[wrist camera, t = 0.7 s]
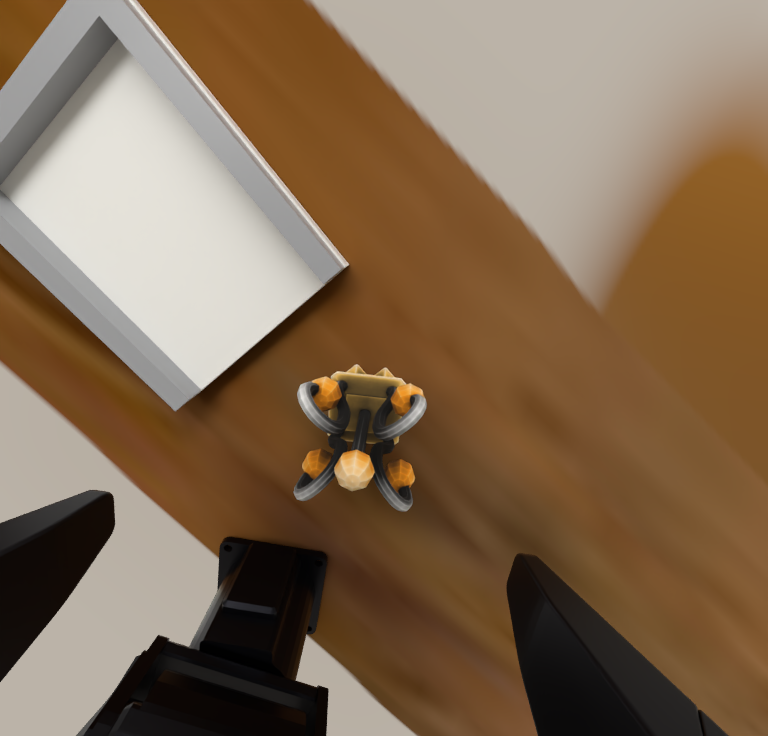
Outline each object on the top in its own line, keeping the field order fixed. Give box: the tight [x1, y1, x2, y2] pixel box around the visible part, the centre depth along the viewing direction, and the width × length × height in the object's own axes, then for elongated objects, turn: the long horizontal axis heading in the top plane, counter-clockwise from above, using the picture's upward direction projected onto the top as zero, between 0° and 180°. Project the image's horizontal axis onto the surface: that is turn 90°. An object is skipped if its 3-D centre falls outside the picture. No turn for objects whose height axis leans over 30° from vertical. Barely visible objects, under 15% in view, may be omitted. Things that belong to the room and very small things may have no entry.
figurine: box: [294, 364, 427, 511], centre depth 16 cm, size 5×5×8 cm
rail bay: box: [0, 0, 349, 411], centre depth 17 cm, size 13×11×2 cm
